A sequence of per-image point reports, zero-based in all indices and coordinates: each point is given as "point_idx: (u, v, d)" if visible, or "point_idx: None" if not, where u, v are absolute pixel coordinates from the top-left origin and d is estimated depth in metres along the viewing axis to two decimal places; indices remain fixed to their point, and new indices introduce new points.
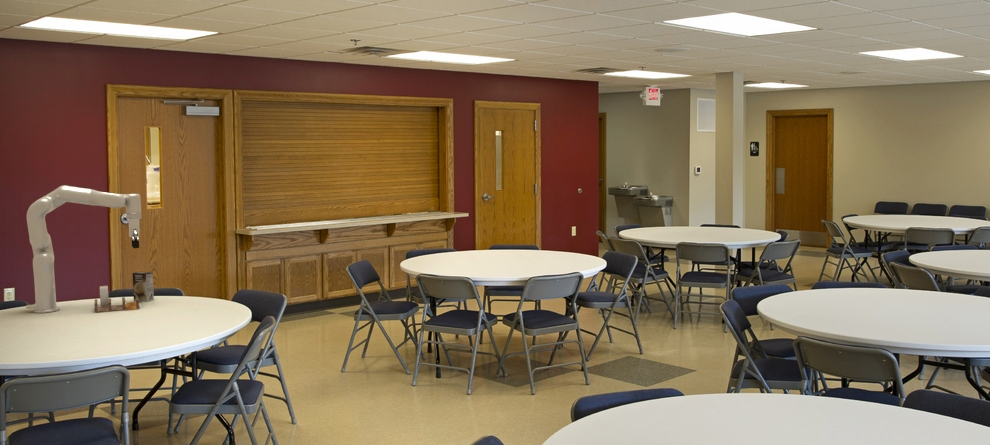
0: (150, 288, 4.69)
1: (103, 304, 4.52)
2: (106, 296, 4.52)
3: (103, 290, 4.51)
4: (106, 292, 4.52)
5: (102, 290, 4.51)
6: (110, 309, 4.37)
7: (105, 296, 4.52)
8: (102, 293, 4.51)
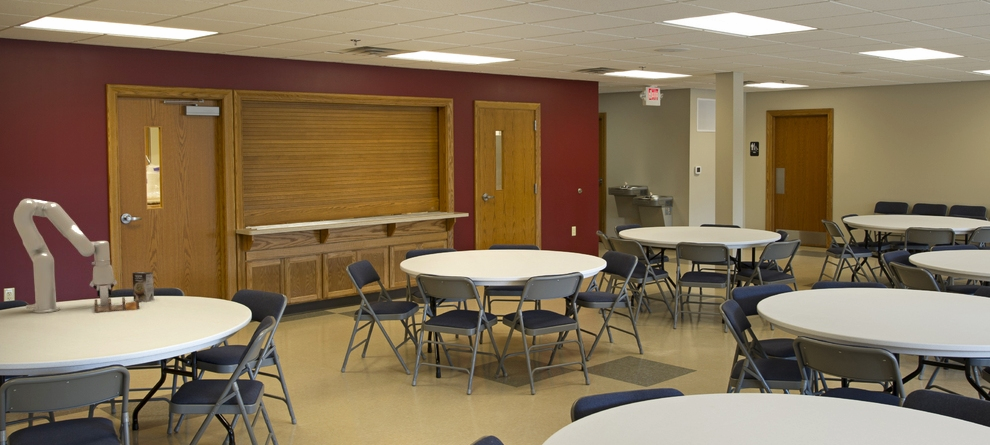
0: (150, 288, 4.69)
1: (103, 304, 4.52)
2: (106, 296, 4.52)
3: (103, 290, 4.51)
4: (106, 292, 4.52)
5: (102, 290, 4.51)
6: (110, 309, 4.37)
7: (105, 296, 4.52)
8: (103, 293, 4.51)
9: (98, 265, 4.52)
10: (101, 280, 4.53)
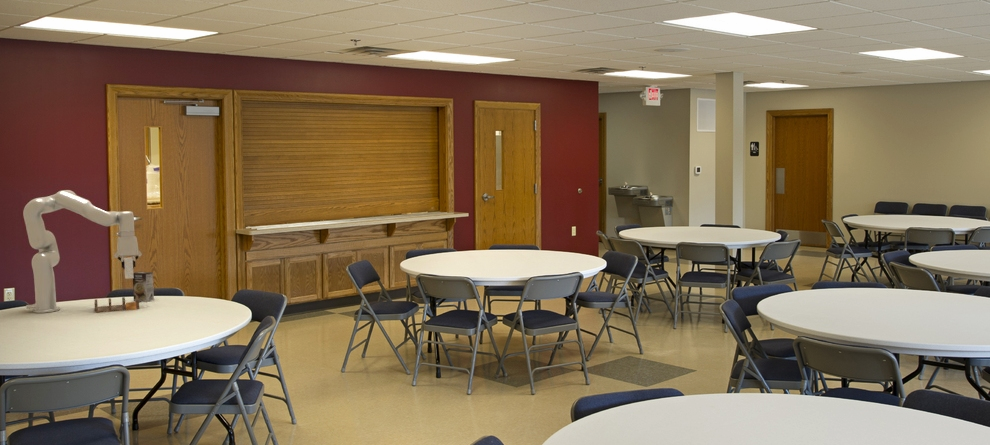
0: (150, 288, 4.69)
1: (128, 275, 4.42)
2: (131, 267, 4.42)
3: (128, 261, 4.42)
4: (131, 263, 4.42)
5: (127, 261, 4.41)
6: (110, 309, 4.37)
7: (130, 267, 4.42)
8: (127, 265, 4.42)
9: (123, 236, 4.42)
10: (126, 251, 4.43)
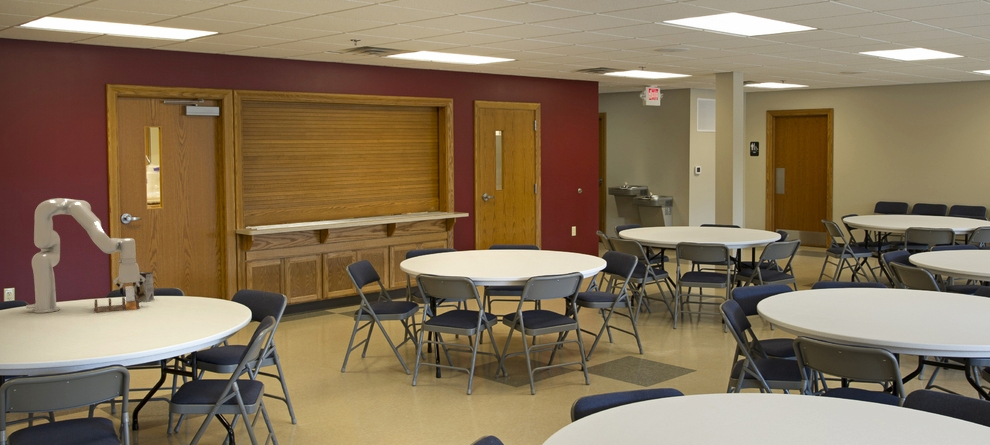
0: (150, 288, 4.69)
1: None
2: (132, 296, 4.44)
3: (129, 290, 4.43)
4: (132, 292, 4.43)
5: (128, 290, 4.42)
6: (110, 309, 4.37)
7: (131, 296, 4.43)
8: (129, 294, 4.43)
9: (124, 263, 4.43)
10: (127, 278, 4.44)
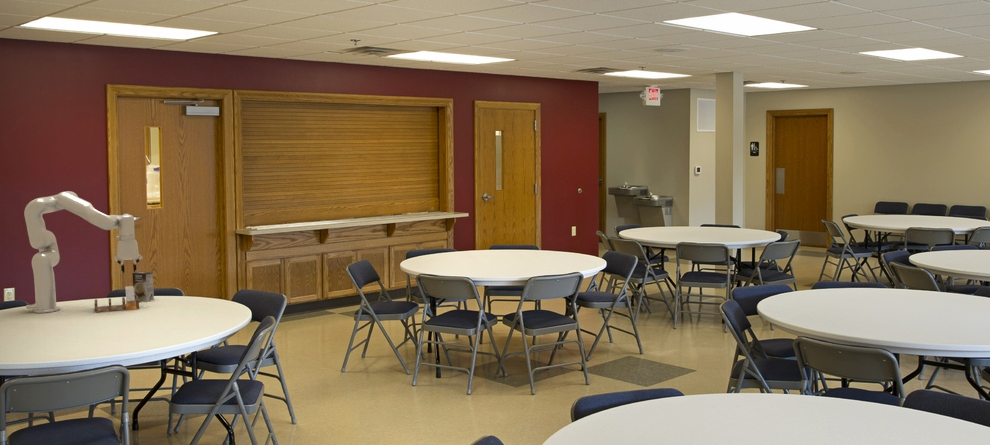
0: (150, 288, 4.69)
1: None
2: (132, 296, 4.44)
3: (129, 290, 4.43)
4: (132, 292, 4.43)
5: (128, 290, 4.42)
6: (110, 309, 4.37)
7: (131, 296, 4.43)
8: (129, 294, 4.43)
9: (123, 239, 4.42)
10: (126, 255, 4.43)
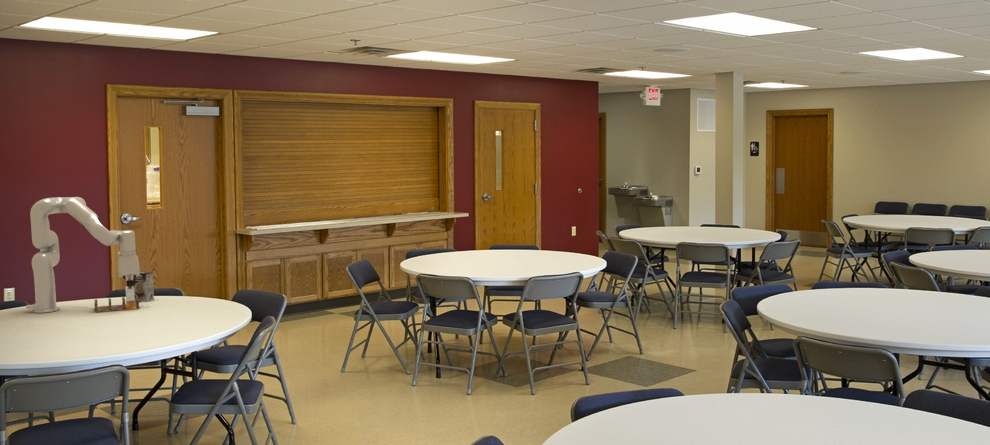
0: (150, 288, 4.69)
1: None
2: (132, 296, 4.44)
3: (129, 290, 4.43)
4: (132, 292, 4.43)
5: (128, 290, 4.42)
6: (110, 309, 4.37)
7: (131, 296, 4.43)
8: (129, 294, 4.43)
9: (124, 255, 4.43)
10: (127, 270, 4.44)
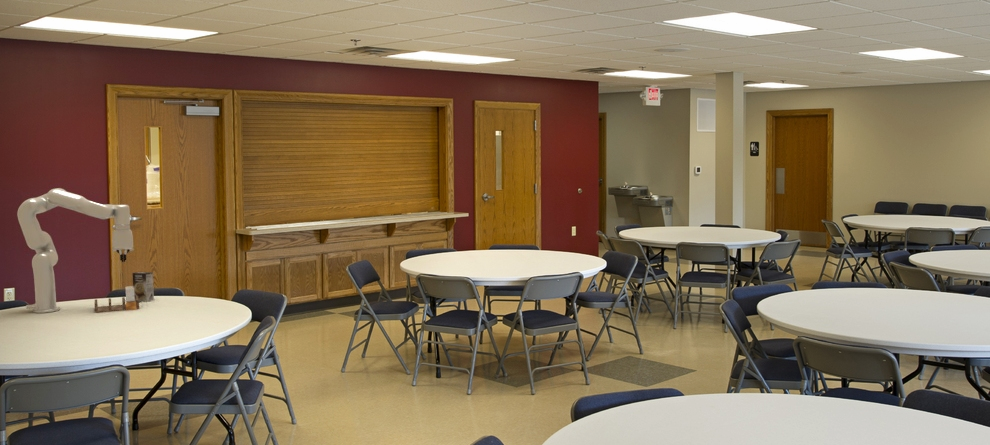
0: (150, 288, 4.69)
1: None
2: (132, 296, 4.44)
3: (129, 290, 4.43)
4: (132, 292, 4.43)
5: (128, 290, 4.42)
6: (110, 309, 4.37)
7: (131, 296, 4.43)
8: (129, 294, 4.43)
9: (118, 229, 4.45)
10: (120, 244, 4.46)
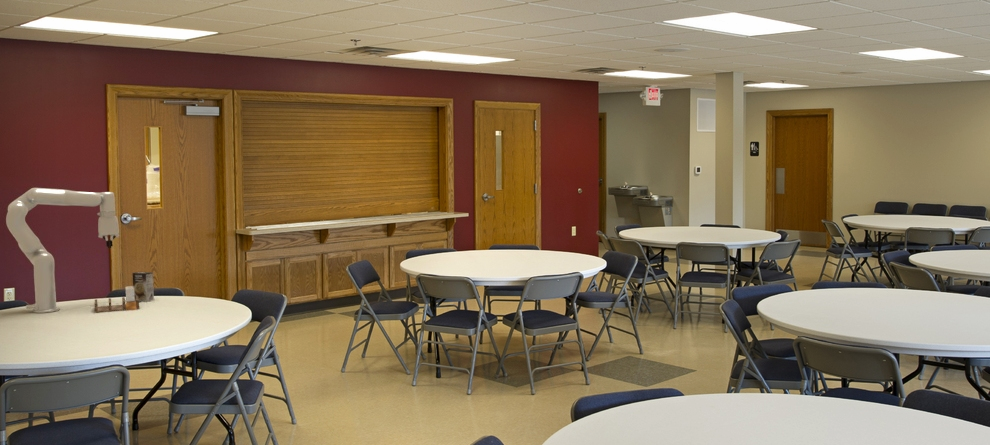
0: (150, 288, 4.69)
1: None
2: (132, 296, 4.44)
3: (129, 290, 4.43)
4: (132, 292, 4.43)
5: (128, 290, 4.42)
6: (110, 309, 4.37)
7: (131, 296, 4.43)
8: (129, 294, 4.43)
9: (103, 216, 4.54)
10: (106, 231, 4.55)
